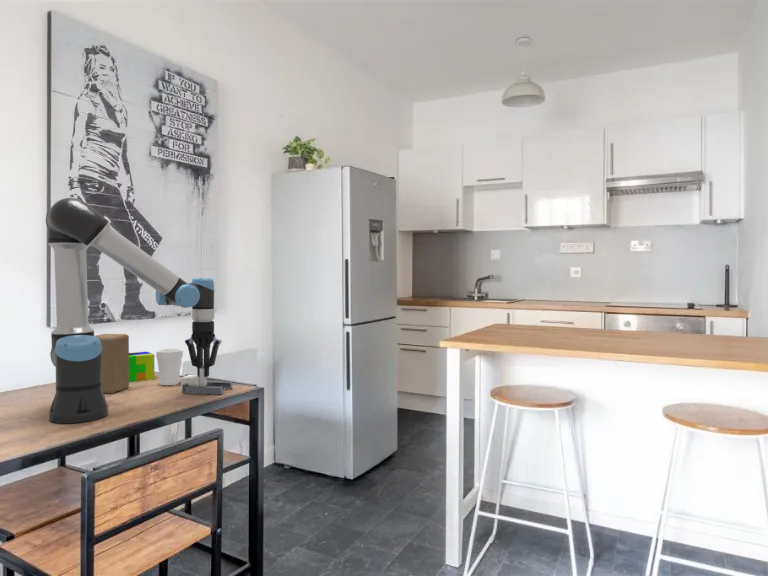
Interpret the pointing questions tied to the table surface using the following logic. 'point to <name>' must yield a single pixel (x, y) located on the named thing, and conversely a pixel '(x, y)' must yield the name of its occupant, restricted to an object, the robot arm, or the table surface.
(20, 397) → the table surface
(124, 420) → the table surface
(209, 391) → the chute
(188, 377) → the block
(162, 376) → the foam cup
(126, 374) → the wooden block
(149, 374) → the puzzle toy
